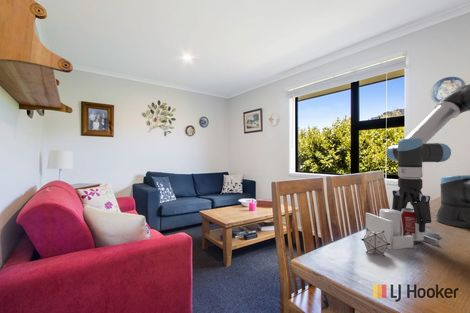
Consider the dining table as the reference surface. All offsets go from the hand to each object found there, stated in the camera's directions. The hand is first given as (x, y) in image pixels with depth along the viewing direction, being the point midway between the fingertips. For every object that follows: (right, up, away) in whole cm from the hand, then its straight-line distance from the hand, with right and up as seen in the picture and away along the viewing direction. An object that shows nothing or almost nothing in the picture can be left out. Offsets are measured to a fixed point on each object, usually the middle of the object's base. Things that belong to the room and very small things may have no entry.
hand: (410, 236), depth 86 cm
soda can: (0, -2, 0) cm, 2 cm away
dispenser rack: (-4, -2, -1) cm, 5 cm away
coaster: (+10, -1, +5) cm, 12 cm away
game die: (-21, -2, -11) cm, 23 cm away
